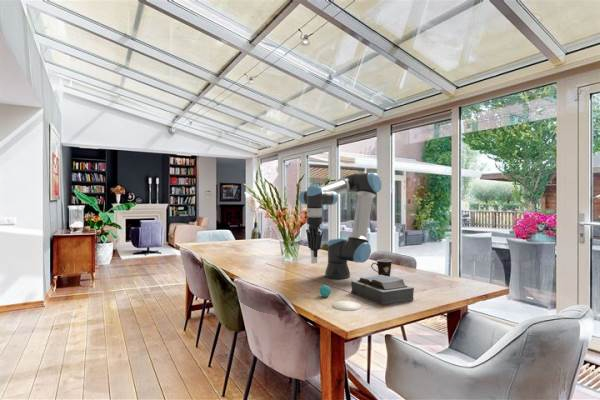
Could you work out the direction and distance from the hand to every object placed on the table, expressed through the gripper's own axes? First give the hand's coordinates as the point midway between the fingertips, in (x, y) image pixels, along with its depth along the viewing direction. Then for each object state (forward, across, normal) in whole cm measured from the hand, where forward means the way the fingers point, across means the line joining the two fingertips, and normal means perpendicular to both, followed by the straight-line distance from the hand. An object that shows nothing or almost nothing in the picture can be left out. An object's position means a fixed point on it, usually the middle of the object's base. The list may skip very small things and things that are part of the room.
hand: (314, 263), depth 177 cm
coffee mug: (+15, -8, +53) cm, 56 cm away
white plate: (+15, +26, 0) cm, 30 cm away
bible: (+15, +23, +24) cm, 37 cm away
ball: (+12, +9, 0) cm, 15 cm away
